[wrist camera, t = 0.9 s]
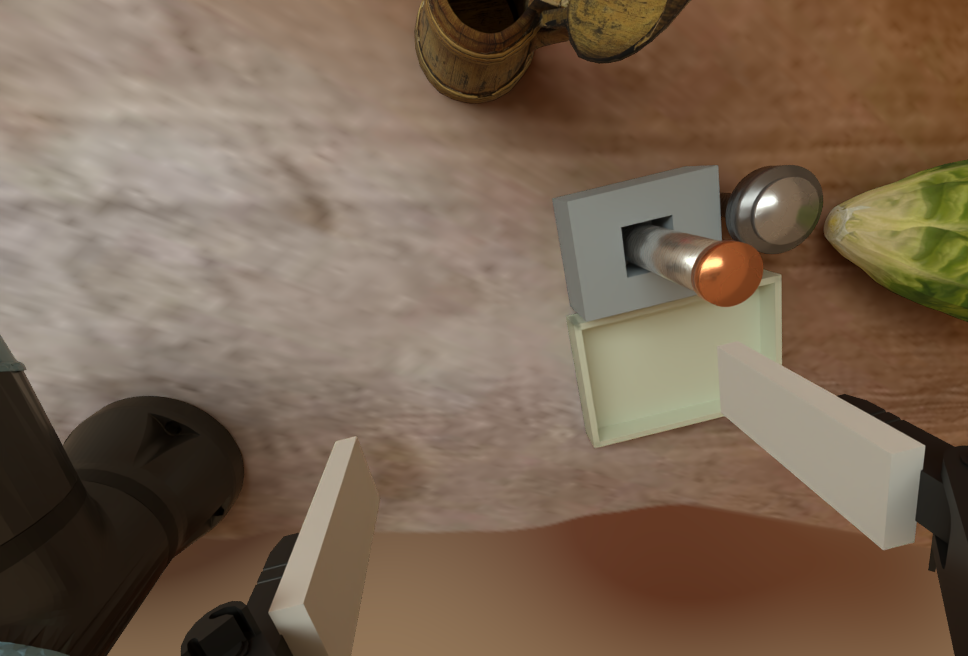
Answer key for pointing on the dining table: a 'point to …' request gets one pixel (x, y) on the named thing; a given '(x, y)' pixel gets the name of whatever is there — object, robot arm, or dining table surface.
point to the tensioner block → (599, 246)
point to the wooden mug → (526, 37)
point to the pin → (696, 262)
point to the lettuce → (911, 236)
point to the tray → (666, 360)
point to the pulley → (773, 208)
